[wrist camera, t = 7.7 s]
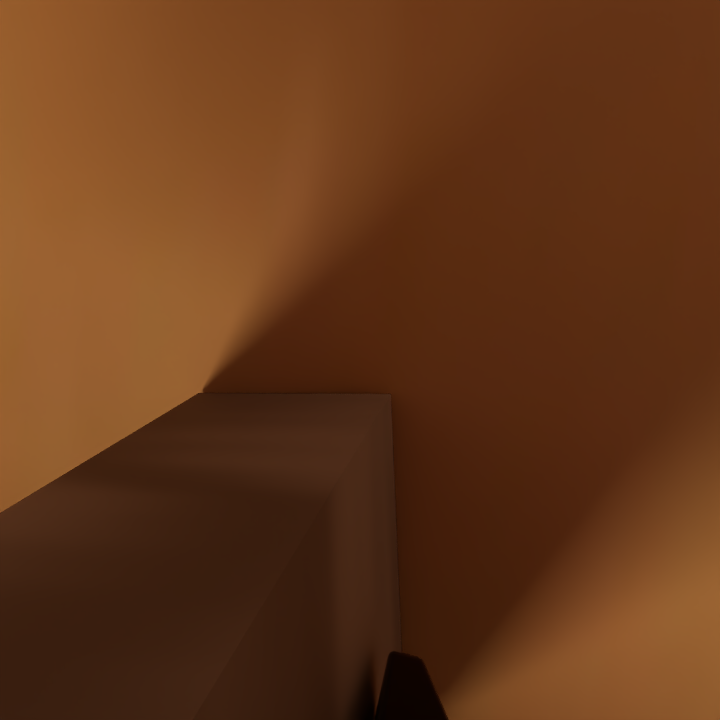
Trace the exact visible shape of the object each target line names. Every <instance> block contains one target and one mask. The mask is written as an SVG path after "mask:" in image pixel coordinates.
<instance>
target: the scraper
mask: <svg viewBox="0 0 720 720" xmlns="http://www.w3.org/2000/svg"><path fill="white" fill-rule="evenodd" d="M392 651H397V652H401V653H402V643H401V619H400V596H399V573H398V549H397V526H396V503H395V479H394V456H393V432H392V409H391V394H302V393H198V394H196V395H195V396H193V397H192V398H190V399H188V400H187V401H185V402H183V403H182V404H180V405H178V406H177V407H175V408H173V409H172V410H170V411H168V412H167V413H165V414H163V415H162V416H160V417H158V418H157V419H155V420H153V421H152V422H150V423H148V424H147V425H145V426H143V427H142V428H140V429H138V430H137V431H135V432H134V433H132V434H130V435H129V436H127V437H125V438H124V439H122V440H120V441H119V442H117V443H115V444H114V445H112V446H110V447H109V448H107V449H105V450H104V451H102V452H100V453H99V454H97V455H95V456H94V457H92V458H90V459H89V460H87V461H85V462H84V463H82V464H80V465H79V466H77V467H76V468H74V469H72V470H71V471H69V472H67V473H66V474H64V475H62V476H61V477H59V478H57V479H56V480H54V481H52V482H51V483H49V484H47V485H46V486H44V487H42V488H41V489H39V490H37V491H36V492H34V493H32V494H31V495H29V496H27V497H26V498H24V499H23V500H21V501H19V502H18V503H16V504H14V505H13V506H11V507H9V508H8V509H6V510H4V511H3V512H1V513H0V720H374V719H375V714H376V709H377V704H378V700H379V695H380V691H381V686H382V681H383V677H384V672H385V668H386V663H387V658H388V655H389V653H390V652H392Z"/></svg>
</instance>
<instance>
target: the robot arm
mask: <svg viewBox="0 0 720 720" xmlns="http://www.w3.org/2000/svg"><path fill="white" fill-rule="evenodd" d="M374 720H448V717H447V715H446V713H445V711H444V708H443V706H442V704H441V701H440V699H439V697H438V694H437V692H436V690H435V687H434V685H433V683H432V680H431V678H430V676H429V674H428V671H427V669H426V667H425V664H424V662H423V660H422V659H421V658H419V657H417V656H413V655H409V654H405V653H401V652H397V651H392V652H390V653H389V655H388V658H387V663H386V668H385V672H384V677H383V681H382V686H381V691H380V695H379V700H378V704H377V709H376V714H375V719H374Z"/></svg>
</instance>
